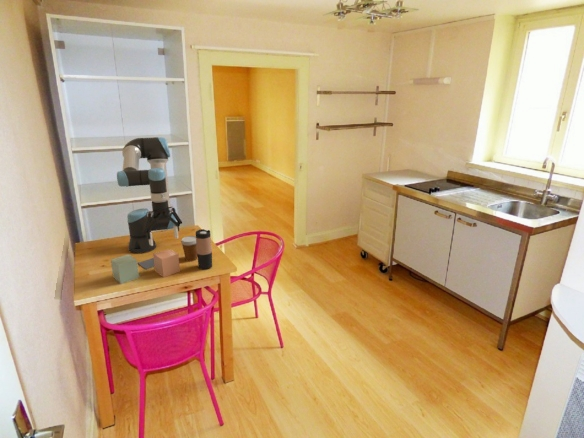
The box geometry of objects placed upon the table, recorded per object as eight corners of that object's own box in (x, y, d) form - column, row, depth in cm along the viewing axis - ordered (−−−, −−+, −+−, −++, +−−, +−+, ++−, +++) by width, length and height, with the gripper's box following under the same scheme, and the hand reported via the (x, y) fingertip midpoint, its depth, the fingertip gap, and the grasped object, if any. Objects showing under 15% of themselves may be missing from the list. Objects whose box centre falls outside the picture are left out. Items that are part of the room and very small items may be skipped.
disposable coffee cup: (195, 263, 202) (193, 242, 198) (179, 261, 204) (177, 241, 200) (203, 256, 211) (201, 236, 207) (187, 254, 212) (185, 235, 208)
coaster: (137, 263, 201) (137, 262, 201) (155, 258, 208) (155, 257, 207) (145, 269, 194) (145, 268, 194) (163, 263, 201) (163, 262, 201)
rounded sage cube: (113, 277, 185) (110, 259, 182) (131, 271, 191) (128, 254, 188) (120, 284, 179) (118, 265, 176) (139, 277, 185) (136, 259, 182)
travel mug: (200, 271, 193) (197, 235, 186) (196, 265, 199) (193, 230, 193) (214, 268, 196) (212, 232, 190) (210, 262, 203) (208, 228, 196)
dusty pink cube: (155, 271, 192) (153, 253, 189) (171, 266, 198) (169, 248, 195) (163, 277, 186) (161, 259, 183) (179, 271, 192) (178, 253, 189)
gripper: (137, 207, 169) (143, 250, 176) (186, 197, 186) (190, 236, 192) (130, 203, 174) (136, 245, 180) (179, 194, 191) (182, 233, 197)
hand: (164, 241), depth 186 cm, fingers open, 13 cm apart
